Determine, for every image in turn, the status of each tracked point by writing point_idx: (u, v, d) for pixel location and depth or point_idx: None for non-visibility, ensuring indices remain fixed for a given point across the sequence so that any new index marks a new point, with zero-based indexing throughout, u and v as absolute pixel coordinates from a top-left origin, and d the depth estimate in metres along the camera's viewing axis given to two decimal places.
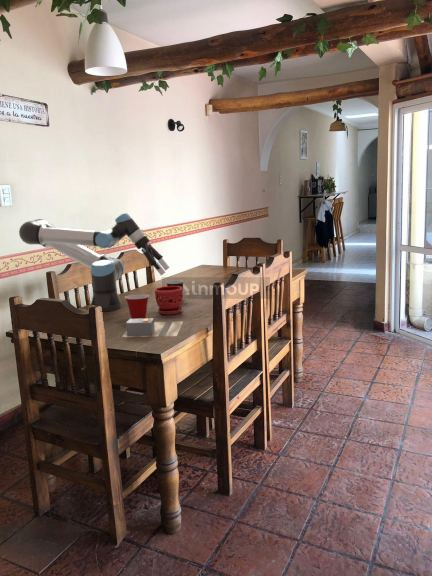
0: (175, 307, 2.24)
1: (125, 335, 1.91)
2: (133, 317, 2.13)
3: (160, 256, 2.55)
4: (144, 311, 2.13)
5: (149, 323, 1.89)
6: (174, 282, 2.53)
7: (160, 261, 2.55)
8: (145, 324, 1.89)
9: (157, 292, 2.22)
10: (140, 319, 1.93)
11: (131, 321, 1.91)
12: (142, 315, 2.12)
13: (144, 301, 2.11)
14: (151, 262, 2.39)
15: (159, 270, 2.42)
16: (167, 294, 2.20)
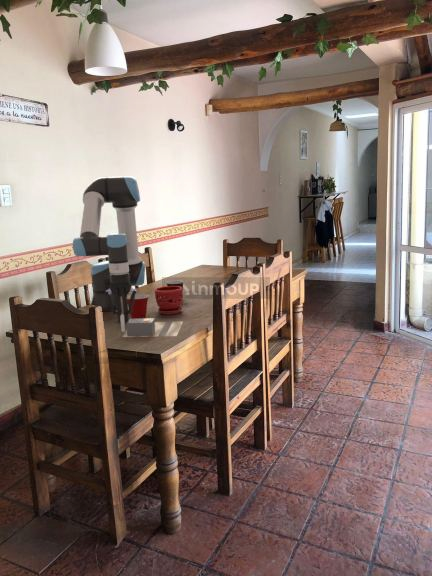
0: (175, 307, 2.24)
1: (125, 335, 1.91)
2: (133, 317, 2.13)
3: (124, 312, 1.90)
4: (144, 311, 2.13)
5: (150, 323, 1.89)
6: (174, 282, 2.53)
7: None
8: (146, 324, 1.89)
9: (157, 292, 2.22)
10: (141, 319, 1.93)
11: (132, 321, 1.91)
12: (142, 315, 2.12)
13: (144, 301, 2.11)
14: None
15: None
16: (167, 294, 2.20)
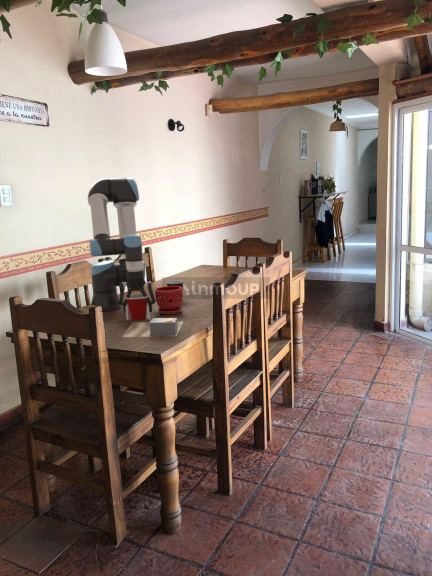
0: (175, 307, 2.24)
1: (125, 335, 1.91)
2: (133, 317, 2.13)
3: (148, 303, 2.13)
4: (144, 311, 2.13)
5: (173, 323, 1.88)
6: (174, 282, 2.53)
7: None
8: (169, 324, 1.88)
9: (157, 292, 2.22)
10: (163, 319, 1.92)
11: (154, 321, 1.90)
12: (142, 314, 2.12)
13: (144, 301, 2.11)
14: None
15: None
16: (167, 294, 2.20)
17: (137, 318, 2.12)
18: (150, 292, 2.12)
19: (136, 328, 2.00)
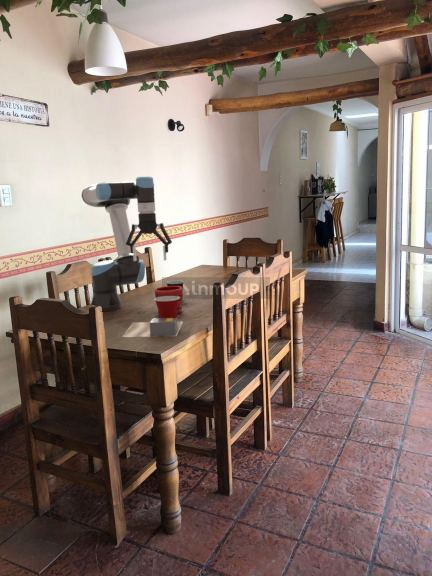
0: None
1: (125, 335, 1.91)
2: None
3: (164, 243, 2.11)
4: (175, 314, 2.01)
5: (173, 323, 1.88)
6: (174, 282, 2.53)
7: None
8: (169, 324, 1.88)
9: (157, 292, 2.22)
10: (163, 319, 1.92)
11: (154, 321, 1.90)
12: (173, 317, 2.00)
13: (175, 303, 1.99)
14: None
15: None
16: (167, 294, 2.20)
17: None
18: (164, 233, 2.10)
19: (136, 328, 2.00)
